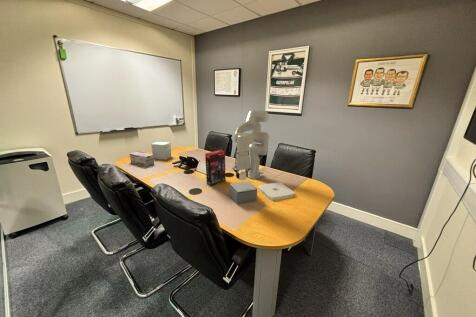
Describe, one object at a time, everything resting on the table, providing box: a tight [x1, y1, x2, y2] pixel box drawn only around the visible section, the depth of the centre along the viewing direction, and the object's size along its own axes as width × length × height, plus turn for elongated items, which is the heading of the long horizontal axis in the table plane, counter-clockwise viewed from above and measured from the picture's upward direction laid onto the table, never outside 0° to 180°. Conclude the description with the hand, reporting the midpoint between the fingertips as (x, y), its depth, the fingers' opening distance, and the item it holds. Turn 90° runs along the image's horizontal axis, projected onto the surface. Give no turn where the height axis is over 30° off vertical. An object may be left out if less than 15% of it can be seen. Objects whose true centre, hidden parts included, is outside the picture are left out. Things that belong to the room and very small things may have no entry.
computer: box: [257, 182, 295, 201], centre depth 153 cm, size 22×22×3 cm
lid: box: [229, 181, 258, 193], centre depth 141 cm, size 16×14×1 cm
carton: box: [228, 185, 258, 205], centre depth 142 cm, size 16×14×8 cm
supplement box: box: [150, 141, 172, 161], centre depth 230 cm, size 17×13×18 cm
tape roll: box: [238, 170, 247, 181], centre depth 137 cm, size 6×6×5 cm
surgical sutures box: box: [129, 151, 155, 168], centre depth 210 cm, size 25×11×11 cm, turn 59°
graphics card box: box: [204, 149, 226, 187], centre depth 164 cm, size 17×7×27 cm, turn 138°
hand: (241, 177), depth 138 cm, fingers closed on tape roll, 6 cm apart
